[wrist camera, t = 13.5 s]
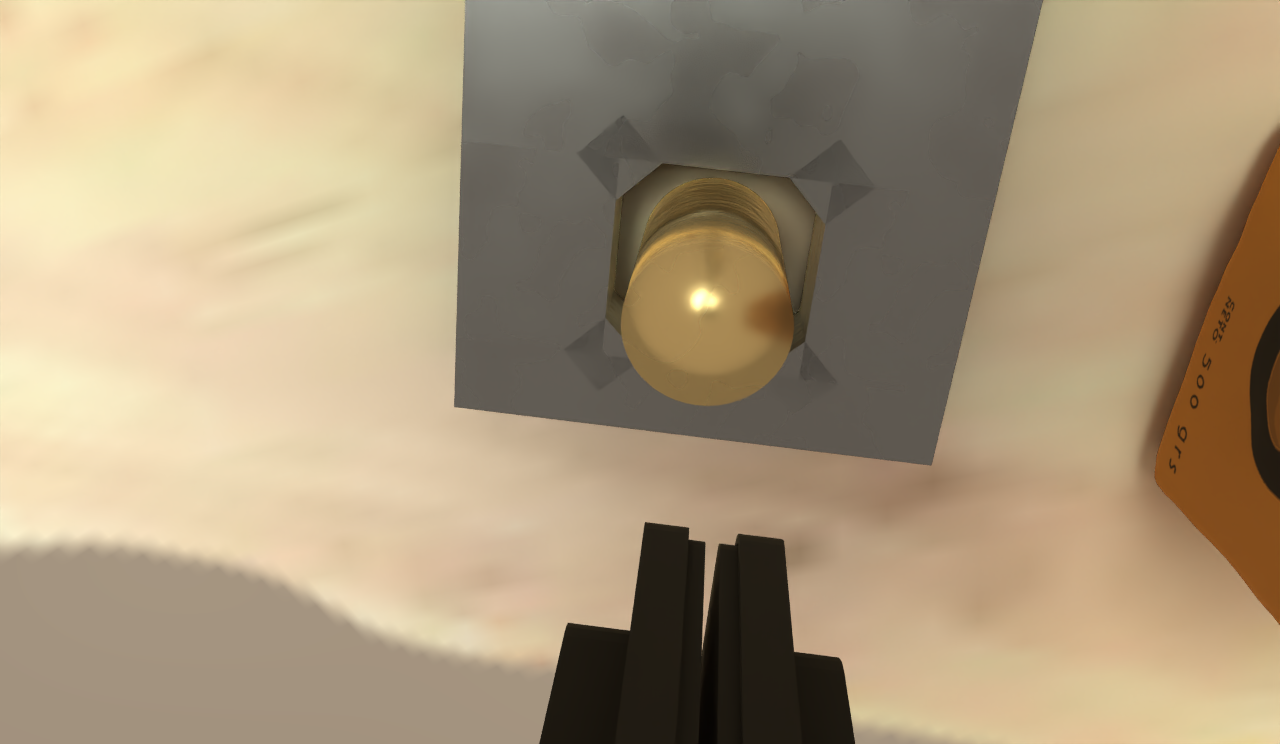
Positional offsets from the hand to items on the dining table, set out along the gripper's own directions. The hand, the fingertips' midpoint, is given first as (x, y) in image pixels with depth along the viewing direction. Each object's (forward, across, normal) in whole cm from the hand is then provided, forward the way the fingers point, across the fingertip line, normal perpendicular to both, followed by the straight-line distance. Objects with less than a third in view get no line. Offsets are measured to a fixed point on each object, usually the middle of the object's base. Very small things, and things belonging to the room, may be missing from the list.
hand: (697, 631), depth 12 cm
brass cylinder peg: (+19, 0, +1) cm, 19 cm away
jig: (+19, 0, -4) cm, 19 cm away
